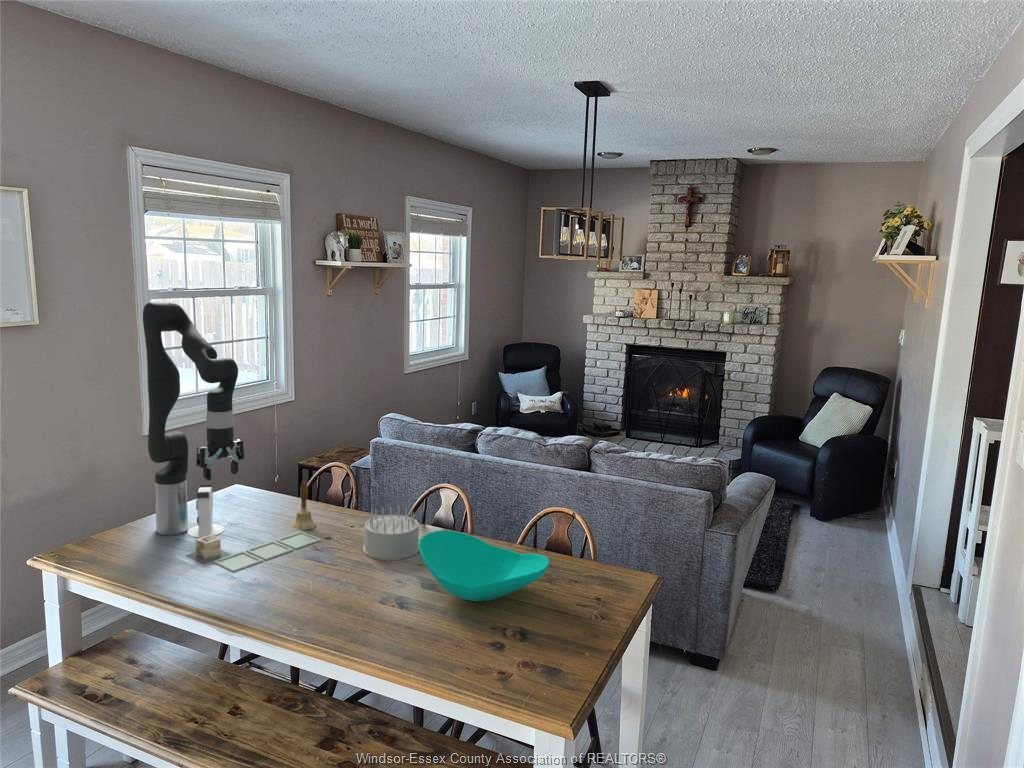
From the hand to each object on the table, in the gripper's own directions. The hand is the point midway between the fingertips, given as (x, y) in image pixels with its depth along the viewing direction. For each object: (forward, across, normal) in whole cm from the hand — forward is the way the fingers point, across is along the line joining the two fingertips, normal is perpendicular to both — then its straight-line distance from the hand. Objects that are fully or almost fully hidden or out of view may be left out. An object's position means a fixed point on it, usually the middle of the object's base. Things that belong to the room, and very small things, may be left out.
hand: (221, 476), depth 214 cm
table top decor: (+24, -32, +77) cm, 87 cm away
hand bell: (+25, -31, 0) cm, 40 cm away
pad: (+25, +4, -1) cm, 25 cm away
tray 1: (+24, +1, +10) cm, 27 cm away
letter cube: (+24, +4, -1) cm, 24 cm away
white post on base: (+25, -6, -20) cm, 33 cm away
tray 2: (+24, -10, +10) cm, 28 cm away
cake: (+25, -37, +35) cm, 57 cm away
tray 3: (+24, -21, +10) cm, 34 cm away
